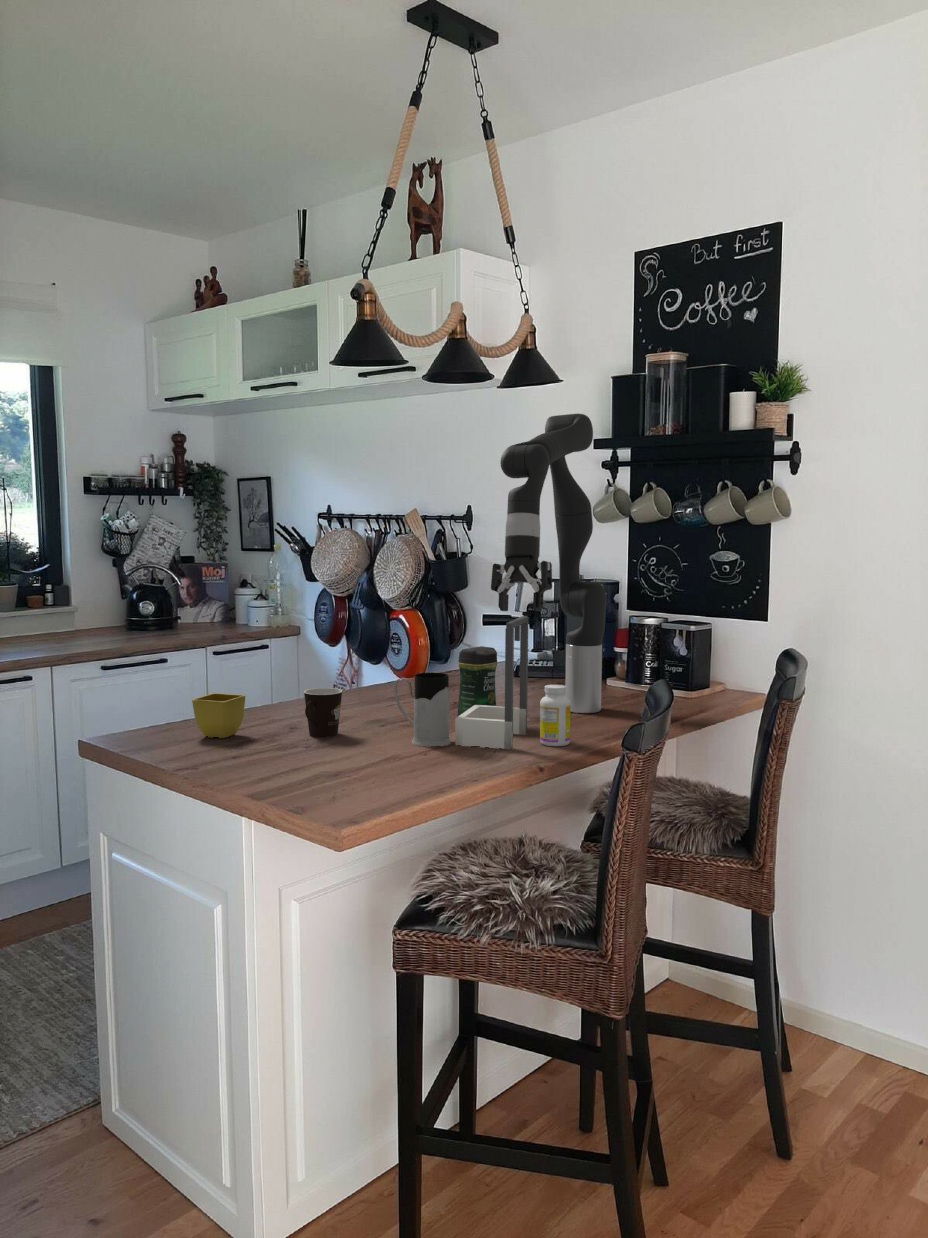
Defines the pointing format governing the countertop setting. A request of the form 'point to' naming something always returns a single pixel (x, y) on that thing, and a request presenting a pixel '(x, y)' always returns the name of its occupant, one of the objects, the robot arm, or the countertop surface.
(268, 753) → the countertop surface
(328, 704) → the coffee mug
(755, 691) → the countertop surface
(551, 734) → the supplement bottle
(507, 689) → the bay
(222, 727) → the flower pot
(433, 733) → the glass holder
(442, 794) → the countertop surface
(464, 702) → the coffee jar
